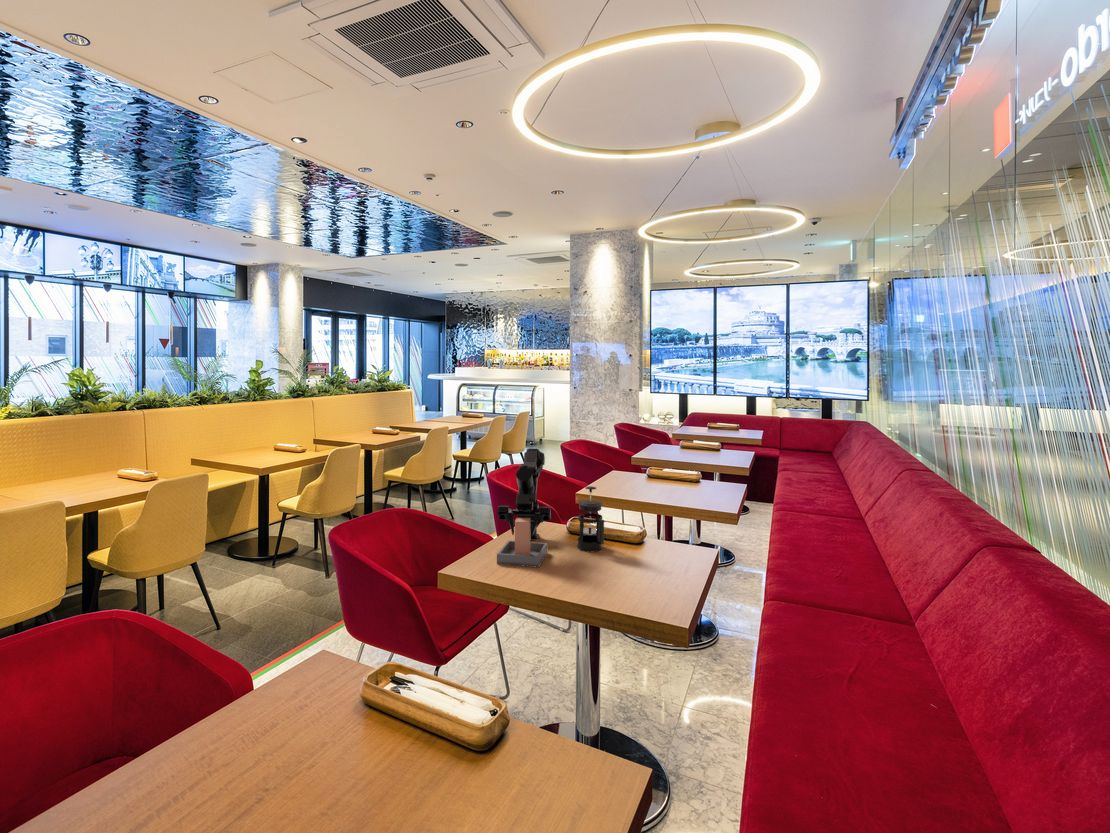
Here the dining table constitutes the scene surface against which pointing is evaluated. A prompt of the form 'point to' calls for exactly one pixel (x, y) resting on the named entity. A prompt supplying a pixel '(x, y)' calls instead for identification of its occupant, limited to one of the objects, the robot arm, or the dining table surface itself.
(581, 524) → the french press
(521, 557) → the tray
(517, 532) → the terracotta block
